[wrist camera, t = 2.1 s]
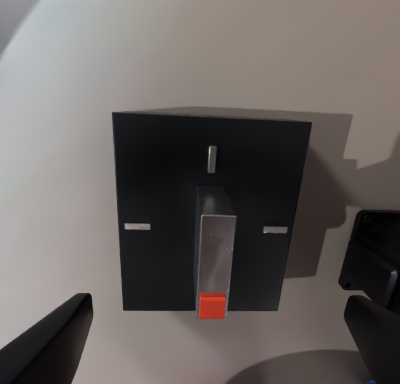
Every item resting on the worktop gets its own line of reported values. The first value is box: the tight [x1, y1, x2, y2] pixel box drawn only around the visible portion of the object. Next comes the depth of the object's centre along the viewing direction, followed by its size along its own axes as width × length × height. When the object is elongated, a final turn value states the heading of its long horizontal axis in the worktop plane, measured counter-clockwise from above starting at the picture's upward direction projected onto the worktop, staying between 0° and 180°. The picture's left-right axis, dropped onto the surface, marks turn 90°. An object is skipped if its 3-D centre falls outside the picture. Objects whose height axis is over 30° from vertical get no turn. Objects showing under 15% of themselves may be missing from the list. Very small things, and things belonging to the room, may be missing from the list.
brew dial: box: [193, 185, 237, 319], centre depth 12 cm, size 5×1×4 cm, turn 177°
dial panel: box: [112, 111, 312, 311], centre depth 16 cm, size 10×12×3 cm
